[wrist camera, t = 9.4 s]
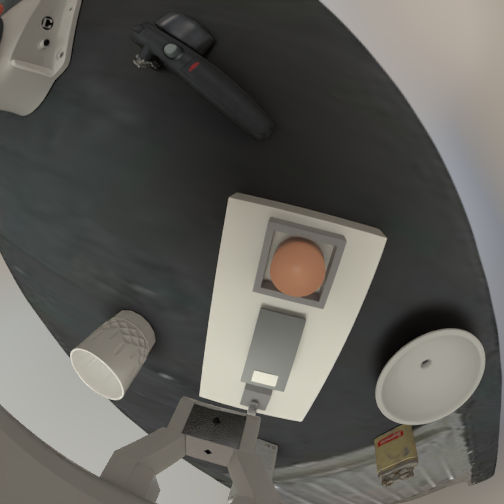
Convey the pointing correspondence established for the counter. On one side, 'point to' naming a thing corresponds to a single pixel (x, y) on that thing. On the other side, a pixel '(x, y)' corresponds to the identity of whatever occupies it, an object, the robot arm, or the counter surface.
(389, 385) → the dish
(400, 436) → the lighter
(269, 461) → the skincare box
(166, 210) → the counter surface
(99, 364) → the white cup
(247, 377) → the block
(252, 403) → the toggle lever
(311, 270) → the push button
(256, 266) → the switch panel
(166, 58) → the can opener
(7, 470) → the robot arm
